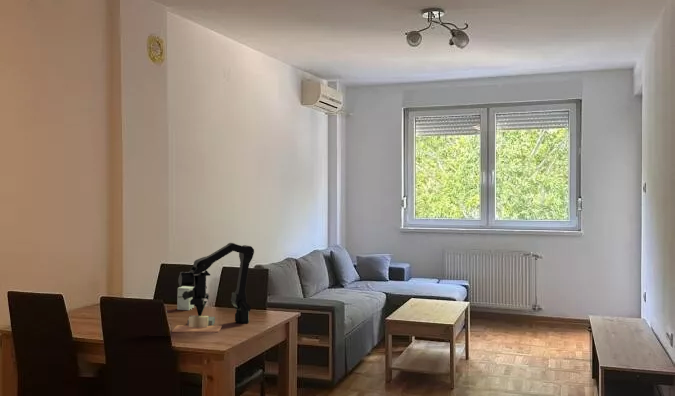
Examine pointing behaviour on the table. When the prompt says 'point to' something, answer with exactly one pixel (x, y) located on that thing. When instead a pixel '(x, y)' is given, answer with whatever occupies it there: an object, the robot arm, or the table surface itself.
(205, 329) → the mat
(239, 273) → the robot arm
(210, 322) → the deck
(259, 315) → the table surface
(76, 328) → the table surface
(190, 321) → the birch block
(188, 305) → the supplement box
